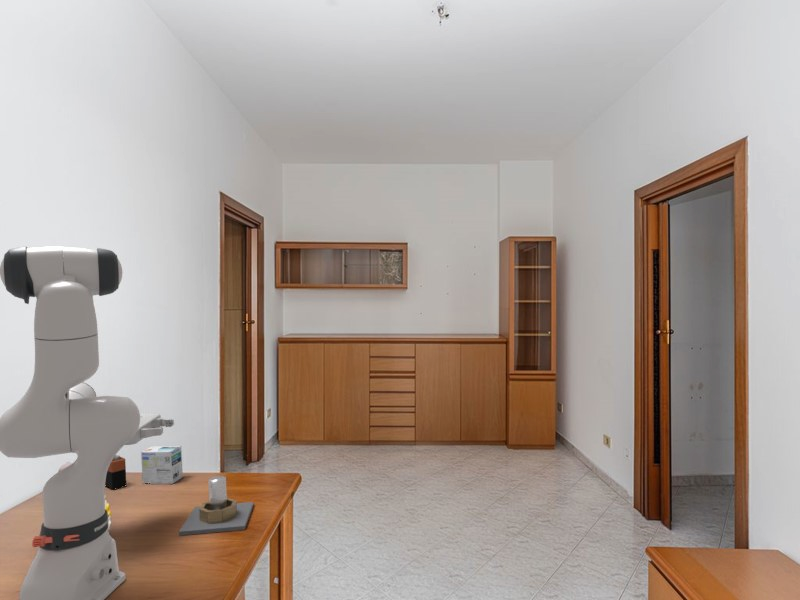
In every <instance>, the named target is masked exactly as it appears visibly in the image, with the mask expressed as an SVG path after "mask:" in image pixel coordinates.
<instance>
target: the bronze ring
mask: <svg viewBox="0 0 800 600" xmlns="http://www.w3.org/2000/svg"><path fill="white" fill-rule="evenodd" d="M237 503H238V501H237V500H236V499H233V498H230V497H227V507H226V508H224V509H221V510H210V505H209V500H208V501H205V502H202V503H201V505H200V506H201V507H200V508H199V518H200V521H203V522H205V523H207V524H209V523H220V522H224V521H227V520H229V519H232V518H234V517H235V515H236V513H237Z"/></svg>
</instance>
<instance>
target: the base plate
mask: <svg viewBox="0 0 800 600" xmlns="http://www.w3.org/2000/svg"><path fill="white" fill-rule="evenodd" d="M254 506H255V505H254V501H247V502H237V513H236V515H235V517H234V518H232V519H229V520H227V521H224V522H220V523H209V524H207V523H205V522H203V521H200V518H199V508H200V507H201V505H199V506H198V505H197V506H194V508H193V509H192V511H191V512H190V514H189V516H188V517H187V519H186V520H185V521H184V523H183V525H182V527H181V528H180V530H179V531H178V535H179V537H180V536H188V535H189V536H190V535H200V534H214V533H224V532H226V533H227V532H233V531H234V532H235V531H245V530H246V528H247V524H248V521H249V519H250V517H251V514H252V511H253V508H254Z"/></svg>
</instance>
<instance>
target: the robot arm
mask: <svg viewBox="0 0 800 600" xmlns="http://www.w3.org/2000/svg"><path fill="white" fill-rule="evenodd" d="M122 278H123V268H122V264H121V261H120V260H119V258H118V255H117V254H116V253H115V252H114V251H113V250H110V249H106V248H99V247H97V248H96V249H95V248H88V247H86V248H85V247H79V246H78V247H76V246H63V245H48V246H37V247H36V246H34V247H33V246H32V247H27V246H20V247H14V248H11V249H9V250H7V251H6V252H5V253H4V255H3V259H2V260H1V262H0V280H1V282H2V284H3V286H4V287H5V289H6V291H7V292H8V293H10V295H12V296H14V297H15V298H18V299H20V300H23V301H24V304H27V305H29V304H30V298H36V300H35V301H36V302H35V309H34V320H33V321H34V322H33V331H34V332H33V333H34V334H33V335H34V336H33V337H34V338H33V339H34V369H33V371H34V372H33V376H32V380H31V383H30V385H29V387H28V389H27V391H26V392H25V393H24V395H23V396H22V397H21V398H20V400H18V402H16V403H15V404H14V405H13V406H11V407H10V408H9V409H7V410H6V411H5V412H4V413H3V414H2V415H1V416H0V452H1V453H2V454H3V455H4V456H5V457H7V458H13V459H14V458H16V459H17V458H18V459H19V458H20V459H37V458H43V457H50V456H56V455H63V454H71V453H72V454H76V455H77V458H76V459H75V460H74V461H73V463H72V464H71V465H70V466H68V467H66V468H65V469H63V470H61V471H59V470H58V471H59V472H58V471H57V472H56V473H55V474H53V475H52V476H51V477H50V478H49V479H48V480H47V481H46V483H45V484H44V486H43V489H42V493H41V494H42V515H43V516H42V517H43V518H42V519H43V522H42V524H41V527H40V531H39V535H35V536H33V539H32V541H31V542H32V543H31V544H32V547H33V548H38V550H37V552H36V555H35V557H34V558H33V559H32V563H31V564H30V566H29V569H28V571H27V573H26V575H25V578H24V580H23V581H22V584H21V587H20V590H19V600H105V599H106V598H108V596H110V595H111V594H112V593H113V592H114V591H115V590H116V589H117V588H118V587H119V586H120V585H121V584H122V583H123V582H124V581H126V578H127V577H126V576H127V575H126V573H125V571H121V570H120V568H119V567H120V566H119V560H118V550H117V544H116V540H115V539H114V538H113V537H112V536H111V535H110V534H109V531H108V528H109V515H108V510H107V509H106V501H105V500H106V486H105V482H106V475H107V471H108V468H109V466H110V463H111V461H112V460H113V458H114V456H115V455H117V454H118V453H119V451H120V450H121V449H122V448H123V447H124V446H131V445H136V444H138V443H139V442H140V441H142V440H143V439H147V438H152V437H156V436H162V434H163V433H164V428H163V427H165V428H171V427H173V426H174V425H175V420H174V419H173V418H161V414H160V413H156V412H154V413H153V412H151V413H150V412H140V410H139V408H138V405H137V404H136V403H135V402H134V400H133V399H131V398H130V397H128V396H127V397H125V396H114V395H101V396H97V394H96V391H95V389H94V388H93V387H92V385H89V384H88V383H86V381H88V380H89V379H91V378H92V377H93V376H94V375H95V374H96V372H97V371H98V369H99V367H100V355H99V354H100V353H99V330H98V320H97V313H96V309H95V304H94V296H99V297H102V296H103V297H104V296H107V295H111V294H113V293H114V292H116V291H117V290H118V289H119V286H120V284H121V282H122Z"/></svg>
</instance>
